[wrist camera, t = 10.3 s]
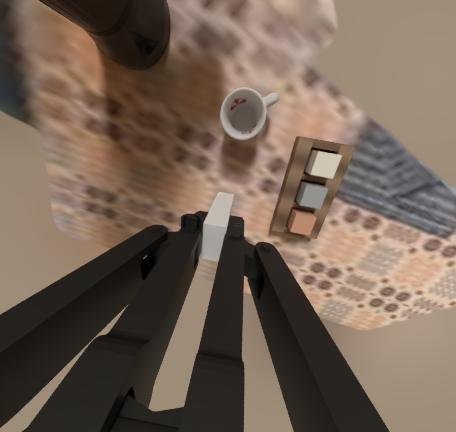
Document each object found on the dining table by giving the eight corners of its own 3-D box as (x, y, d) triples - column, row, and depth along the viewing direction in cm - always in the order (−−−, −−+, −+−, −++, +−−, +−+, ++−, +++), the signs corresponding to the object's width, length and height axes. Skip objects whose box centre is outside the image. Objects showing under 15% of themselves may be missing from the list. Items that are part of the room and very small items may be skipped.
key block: (296, 136, 38) (300, 136, 35) (348, 145, 38) (356, 146, 35) (270, 225, 47) (271, 230, 44) (312, 233, 46) (316, 239, 44)
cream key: (310, 149, 37) (318, 151, 33) (331, 153, 37) (342, 155, 33) (303, 170, 39) (310, 174, 35) (323, 174, 39) (332, 178, 35)
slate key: (300, 180, 40) (306, 185, 36) (320, 183, 40) (328, 189, 36) (294, 198, 42) (299, 205, 38) (313, 202, 42) (320, 209, 37)
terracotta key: (291, 206, 42) (296, 214, 38) (310, 210, 42) (316, 218, 38) (286, 223, 44) (290, 231, 40) (303, 226, 44) (309, 235, 40)
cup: (266, 80, 35) (270, 64, 27) (281, 120, 37) (290, 116, 30) (218, 111, 38) (211, 104, 30) (235, 147, 40) (233, 148, 33)
